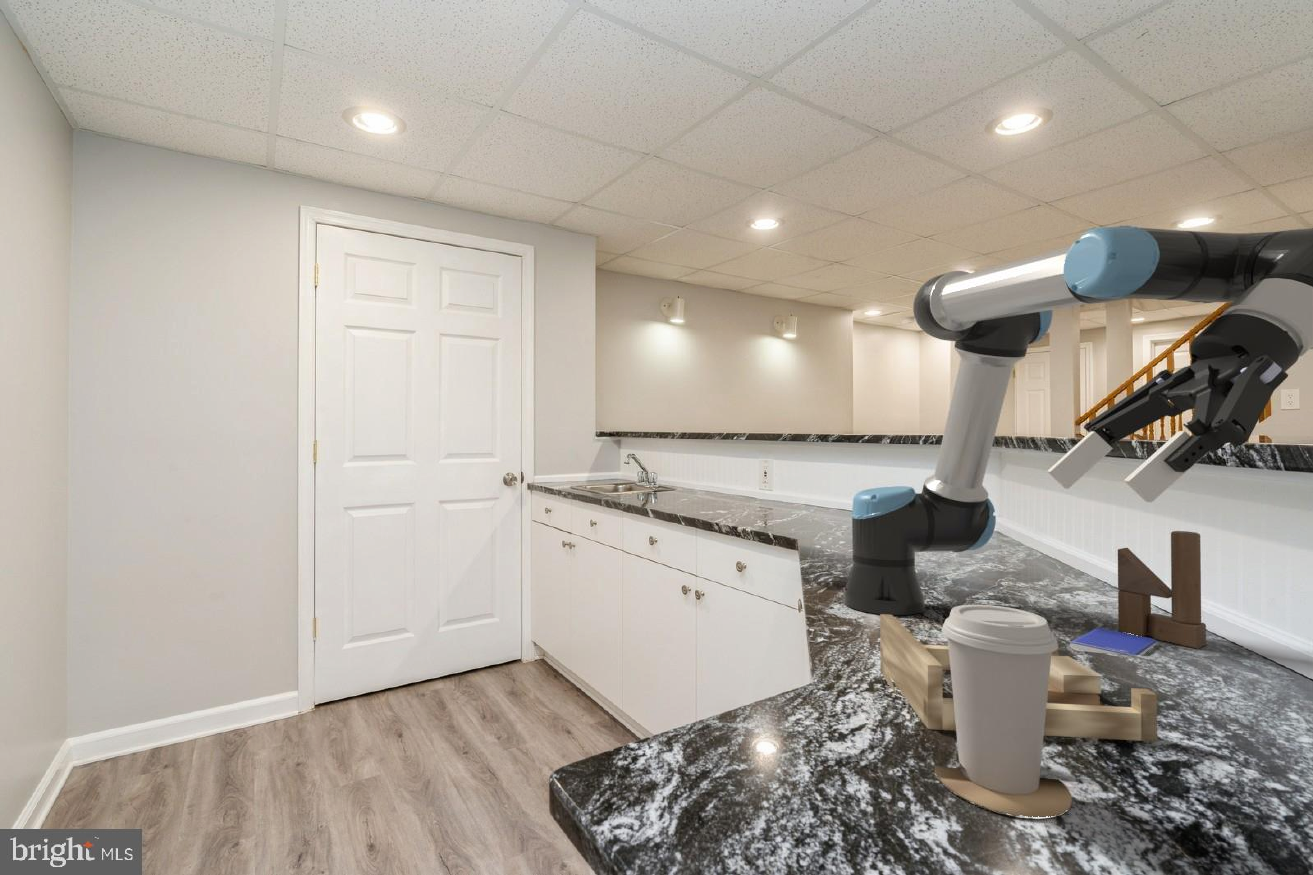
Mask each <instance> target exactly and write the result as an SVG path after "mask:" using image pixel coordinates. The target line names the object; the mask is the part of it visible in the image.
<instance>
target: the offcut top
mask: <svg viewBox="0 0 1313 875" xmlns="http://www.w3.org/2000/svg"><path fill="white" fill-rule="evenodd" d="M1049 682H1050V683H1051V684H1053V685H1054V686H1056V687H1057V688H1058V689H1060V690H1061V691H1063V692H1070V693H1097V694H1098V695H1101V694H1102V676H1101V675H1100V674H1098V673H1097V672H1095V671H1094V670H1092V669H1091V668H1089V667H1087V666H1085V665H1084V664H1082V663H1080V662H1078V661H1077V660H1075V659H1074V658H1072V657H1070V656H1068V655H1059V656H1051V665H1050V674H1049Z"/></svg>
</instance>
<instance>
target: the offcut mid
mask: <svg viewBox="0 0 1313 875" xmlns="http://www.w3.org/2000/svg"><path fill="white" fill-rule="evenodd" d="M1100 700H1101V698H1100V695H1099V694H1097V693H1070V692H1063V691H1061V690H1060V689H1058V688H1057V687H1056V686H1054V685H1053V684H1051V683H1050V682H1049V684H1048V695H1047V703H1055V704H1075V705H1095V706H1101V701H1100Z"/></svg>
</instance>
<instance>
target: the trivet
mask: <svg viewBox="0 0 1313 875" xmlns="http://www.w3.org/2000/svg"><path fill="white" fill-rule="evenodd" d="M960 769H961V767H959V768H958V767H951V766H950V767H949V766H940V765H934V774H935V776H936V775H937V776H936V778H937V779H938V778H939V780H940V781H941V782H942V783H943V784H944V785H945V786H946V787H948V788H949V789H950V790H951V791H952V792H955V793H956V794H957V795H959V796H961V797H963V798H965V799H967V800H969V801H972V802H975V803H976V804H978V805H980V806H984V807H986V808H988V809H989V810H996V811H999V812H1004V813H1008V814H1011V815H1023V816H1028V817H1029V816H1030V817H1032V816H1033V817H1038V816H1039V817H1046V816H1048V817H1049V816H1050V817H1051V816H1055V815H1060V814H1062V813H1064V812H1065V811H1066V810H1068V809H1069V808H1070V809H1071V807H1072V794H1071V792H1070V790H1069V788H1068V787H1067V785H1066V784H1065V783H1063V781H1062V780H1061V779H1056V778H1047V777H1041V776H1040V780H1039V787H1038V789H1037V790H1036V791H1035V792H1033V793H1030V794H1025V795H1013V794H1005V793H1000V792H996V791H993V790H990V789H987V788H984V787H982V786H980V785H978V784H976V783H974V782H972V781H971V780H969V779H968V778H967V777H965V776H964V775H963V773H962V772H961V770H960ZM939 780H938V781H939ZM940 781H939V782H940ZM1070 806H1071V807H1070ZM1070 809H1069V810H1070ZM1069 810H1068V811H1069Z"/></svg>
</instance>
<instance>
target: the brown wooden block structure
mask: <svg viewBox="0 0 1313 875" xmlns="http://www.w3.org/2000/svg"><path fill="white" fill-rule="evenodd" d="M1201 552H1202V551H1201V534H1200V533H1198V532H1195V531H1187V530H1185V531H1183V530H1173V531H1171V532H1170V569H1171V570H1170V573H1171V576H1170V578H1171V581H1170V583H1171V584H1170V586H1171V588H1170V587H1169V586H1168V585H1167V584H1166V583H1165V582H1164V581H1163V580H1162V579H1161V578H1160V577H1158V576H1157V575H1156V574H1155V573H1154V572H1153V571H1152V570H1151V569H1150V568H1149V567H1148V566H1147V565H1146V563H1144V562H1143V561H1142V560H1141V559H1140V558H1139V557H1138V556H1137V555H1136V554H1135V553H1134V552H1133V551H1132V550H1131V549H1129V548H1128V547H1122V548H1117V590H1118V592H1117V603H1118V604H1117V606H1118V607H1117V608H1118V609H1117V610H1118V614H1117V620H1118V622H1117V624H1118V626H1117V628H1118V632H1121V633H1122V632H1126V634H1127V633H1131V634H1134V635H1138V636H1143V637H1145V635H1146V636H1149V637H1151V636H1152V637H1151V638H1152V639H1154V640H1156V639H1157V640H1156V641H1161V642H1164V641H1167V642H1166V643H1169V642H1172V643H1171V644H1173V643H1175V645H1178V644H1179V645H1178V646H1182V645H1183V647H1187V646H1190V647H1189V648H1191V647H1193V648H1192V649H1196V648H1198V649H1200V648H1202V646H1203V647H1205V646H1207V625H1206V623H1205V622H1202V565H1201V562H1202V560H1201V559H1202V558H1201V556H1202V555H1201ZM1151 596H1152V597H1155V598H1163V599H1170V600H1171V616H1169V615H1165V614H1158V613H1153V612H1152V602H1151V601H1152V600H1151V599H1152V597H1151ZM1147 634H1148V635H1147Z"/></svg>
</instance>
